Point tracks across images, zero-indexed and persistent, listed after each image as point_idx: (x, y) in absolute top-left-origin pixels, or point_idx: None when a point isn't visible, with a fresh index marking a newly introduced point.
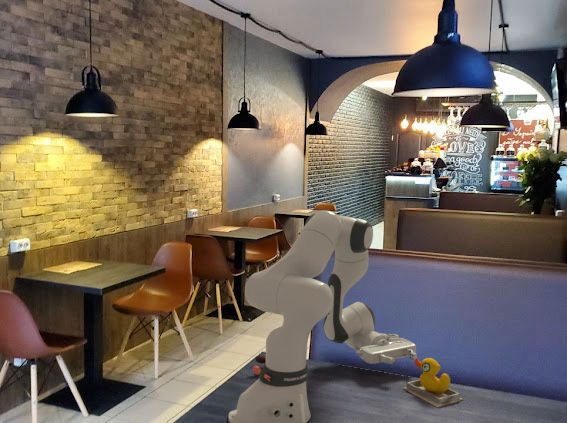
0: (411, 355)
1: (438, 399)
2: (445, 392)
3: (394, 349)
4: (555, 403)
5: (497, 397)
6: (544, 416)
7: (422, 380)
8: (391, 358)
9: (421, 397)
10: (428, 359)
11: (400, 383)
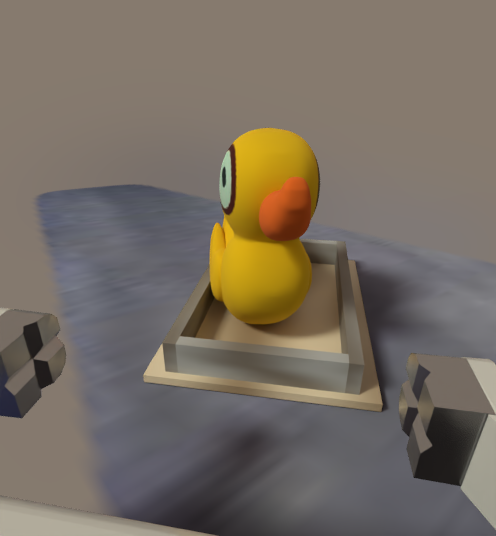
0: (31, 354)
1: (345, 244)
2: None
3: (104, 526)
4: (56, 194)
5: (107, 232)
6: (154, 190)
7: (309, 275)
8: (472, 364)
9: (363, 306)
10: (289, 131)
11: (329, 486)
